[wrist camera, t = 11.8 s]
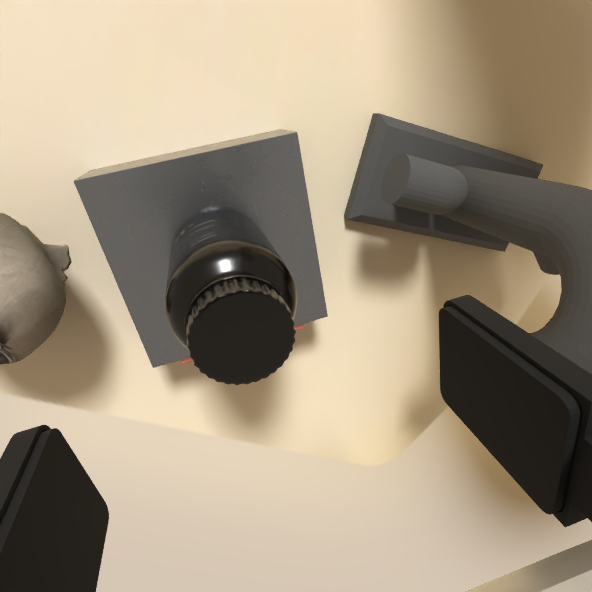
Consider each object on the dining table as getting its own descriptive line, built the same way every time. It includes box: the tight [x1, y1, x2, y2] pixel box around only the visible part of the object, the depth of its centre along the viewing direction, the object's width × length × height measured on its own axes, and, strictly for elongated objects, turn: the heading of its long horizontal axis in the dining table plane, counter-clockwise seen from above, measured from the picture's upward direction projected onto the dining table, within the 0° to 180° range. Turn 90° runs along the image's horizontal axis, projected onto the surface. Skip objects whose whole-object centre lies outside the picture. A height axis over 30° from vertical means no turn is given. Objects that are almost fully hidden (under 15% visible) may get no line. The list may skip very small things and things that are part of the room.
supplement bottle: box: [165, 211, 297, 385], centre depth 23 cm, size 7×7×12 cm
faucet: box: [344, 114, 592, 374], centre depth 28 cm, size 18×16×20 cm
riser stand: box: [74, 130, 328, 368], centre depth 30 cm, size 14×15×5 cm
